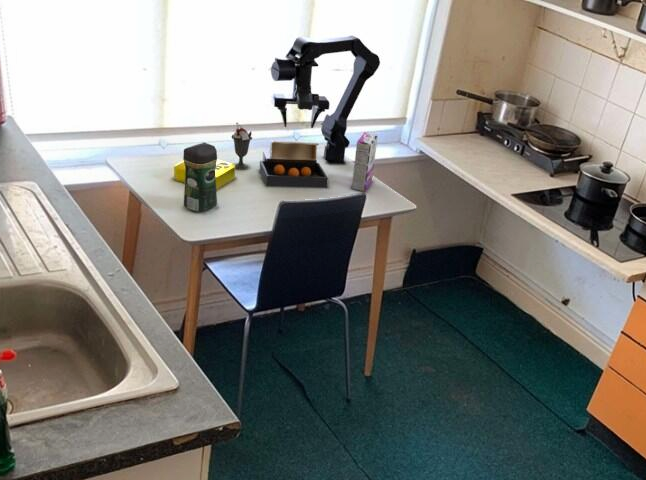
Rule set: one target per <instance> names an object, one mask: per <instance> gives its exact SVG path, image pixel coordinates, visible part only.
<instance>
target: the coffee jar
mask: <svg viewBox="0 0 646 480" xmlns="http://www.w3.org/2000/svg"><path fill="white" fill-rule="evenodd" d="M182 159H183V160H182V161H184V164H185V183H184V190H183V192H184V193H183V206H184V208H186V209H187V210H188V211H190V212H193V213H206V212H208V211H210V210H212V209H215V208H216V206H217V205H218V195H217V189H216V163H217V160H218V151H217V148H216V147H215V145H212V144H210V143H207V142H202V143H197V144H194V145H191V146H188V147H186V148H184V149H183V158H182Z"/></svg>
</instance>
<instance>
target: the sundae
mask: <svg viewBox="0 0 646 480" xmlns="http://www.w3.org/2000/svg"><path fill="white" fill-rule="evenodd" d="M235 124H236V125H237V126H238V127H237V128H235V132H234V133H233V134H232V135H231V139H232V140H233V143H234V146H233V147H234V152H235V155H237V156H238V163H235V164H234V163H233V164H234V165H235V170H236V169H237V170H241V171H242V170H243V171H244V170H247V169H248V168H249V165H247V164H245V163H244V157H246V156H247V154H248V152H249V147H250V143H251V141H252V140H253V137H252V131H249V132H248V130H247V129H245V128H244V127H242V126H241V125H240V124H239V122H235ZM239 127H240V128H239Z"/></svg>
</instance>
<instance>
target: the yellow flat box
mask: <svg viewBox="0 0 646 480" xmlns="http://www.w3.org/2000/svg"><path fill="white" fill-rule="evenodd" d="M173 178H174V180H175V181H177V182H181V183H184V184H185V164H184V161H183V160H182V161H180V162H178V163H176V164H174V165H173ZM235 178H236V168H235V165H234V163H230V162H228V161H224V160H220V159H217V163H216V190H218V189H220V188H222V187H223V186H225V185H227V184H229V183H230V182H232V181H233V180H235Z"/></svg>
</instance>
